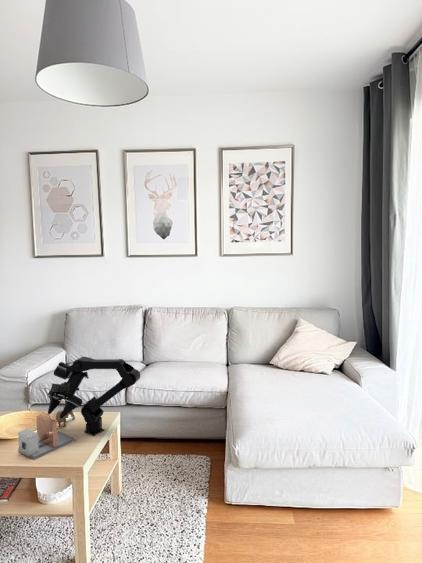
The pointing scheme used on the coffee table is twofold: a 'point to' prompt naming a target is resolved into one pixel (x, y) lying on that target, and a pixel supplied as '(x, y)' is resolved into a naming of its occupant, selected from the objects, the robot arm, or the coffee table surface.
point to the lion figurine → (63, 417)
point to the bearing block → (28, 442)
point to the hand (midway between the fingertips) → (54, 416)
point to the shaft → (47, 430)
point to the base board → (45, 448)
